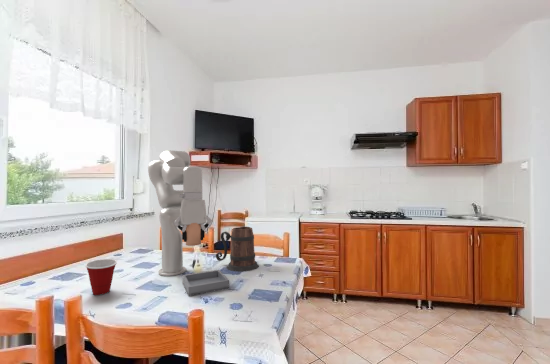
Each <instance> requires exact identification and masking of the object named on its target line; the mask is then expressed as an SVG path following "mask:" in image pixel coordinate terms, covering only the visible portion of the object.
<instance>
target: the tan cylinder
mask: <svg viewBox="0 0 550 364" xmlns="http://www.w3.org/2000/svg"><path fill="white" fill-rule="evenodd" d="M199 245H202V240H201V224H197V223H191V224H190V225H187V227H186V242H185V246H186V247H187V246H188V247H193V246H194V247H195V246H199Z"/></svg>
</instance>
